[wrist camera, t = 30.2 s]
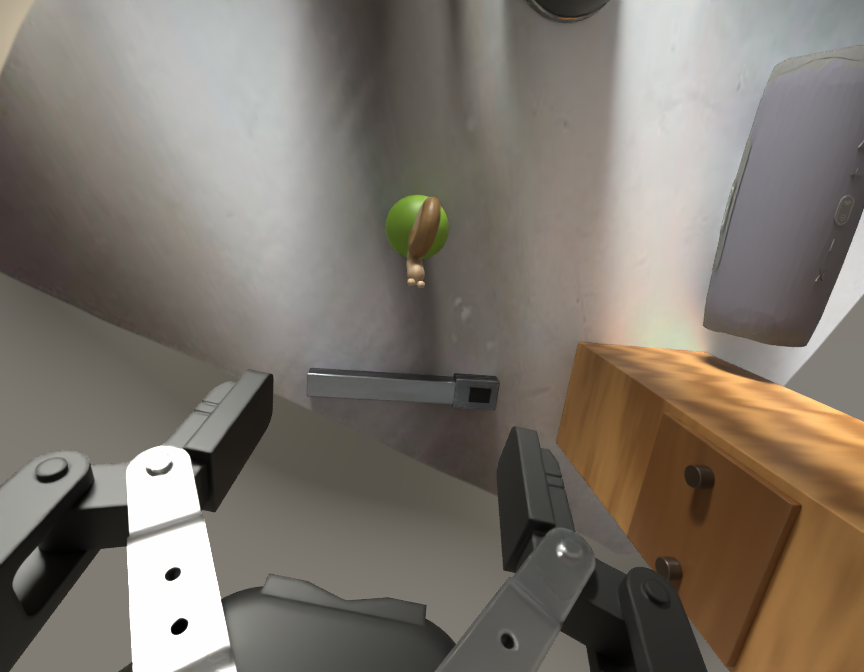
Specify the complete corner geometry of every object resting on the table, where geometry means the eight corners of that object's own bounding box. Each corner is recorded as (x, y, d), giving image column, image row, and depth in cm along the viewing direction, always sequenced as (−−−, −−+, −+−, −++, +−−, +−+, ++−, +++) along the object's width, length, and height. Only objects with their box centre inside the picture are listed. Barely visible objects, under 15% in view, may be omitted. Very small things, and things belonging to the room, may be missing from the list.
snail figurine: (376, 258, 39) (376, 278, 28) (392, 188, 38) (399, 179, 26) (432, 272, 40) (453, 297, 29) (450, 205, 39) (480, 203, 27)
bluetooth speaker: (749, 322, 46) (845, 351, 37) (671, 317, 45) (750, 346, 35) (820, 89, 40) (958, 52, 30) (732, 76, 39) (847, 33, 29)
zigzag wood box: (542, 442, 47) (875, 918, 16) (563, 340, 44) (1041, 680, 12) (675, 447, 50) (1198, 869, 18) (705, 351, 47) (1407, 660, 15)
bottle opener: (309, 393, 42) (306, 400, 41) (310, 363, 42) (307, 369, 40) (491, 403, 45) (495, 410, 44) (495, 375, 44) (500, 382, 43)
